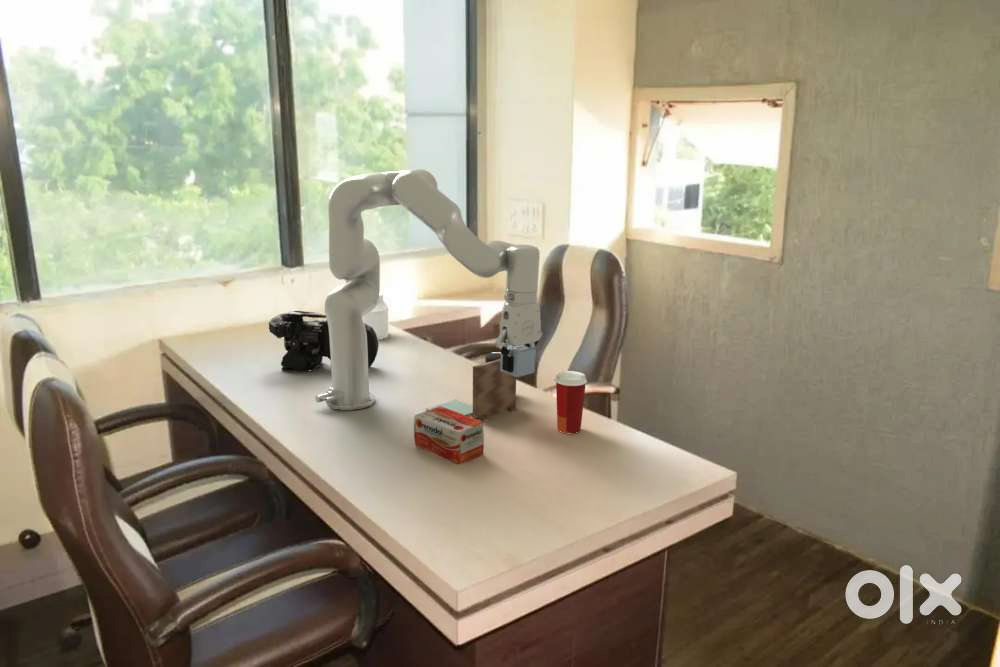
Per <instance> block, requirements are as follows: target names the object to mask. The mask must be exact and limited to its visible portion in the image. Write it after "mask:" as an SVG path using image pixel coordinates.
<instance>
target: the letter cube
mask: <svg viewBox="0 0 1000 667" xmlns="http://www.w3.org/2000/svg"><path fill="white" fill-rule="evenodd" d="M509 347H510V346H509V345H508V347H507V349H508V350H509ZM536 350H537V349H536V348H535V349H533V348H531V347H528V346H525V345H520V346H515V348H514V351H513V354H512V356H513V357H514V361H513V372H511V373H510V372H508V371H505V370H503V369H502V363H503V355H502V354H501V361H500V371H502V372H504V373H507V374H510V375H512V376H515V377H516V378H520V377H524V376H527V375H528V376H529V375H531V374H534V373H535V368H536V355H537V354H536V353H537V351H536Z"/></svg>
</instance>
